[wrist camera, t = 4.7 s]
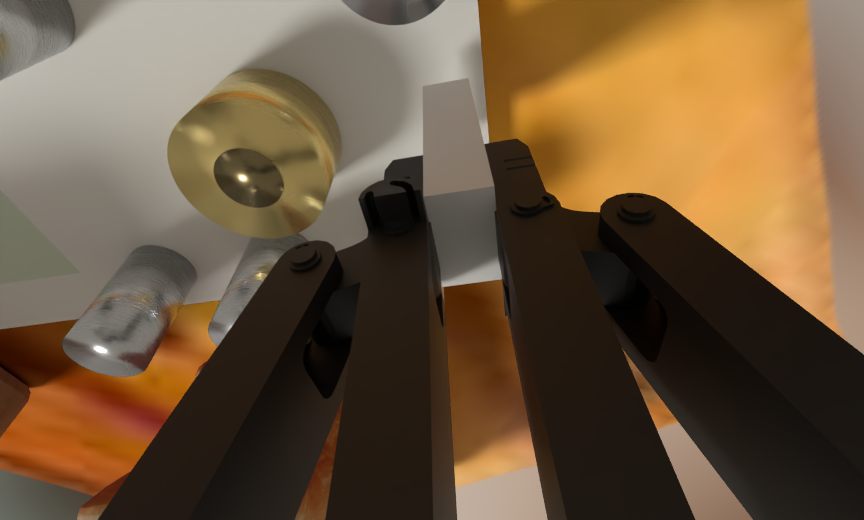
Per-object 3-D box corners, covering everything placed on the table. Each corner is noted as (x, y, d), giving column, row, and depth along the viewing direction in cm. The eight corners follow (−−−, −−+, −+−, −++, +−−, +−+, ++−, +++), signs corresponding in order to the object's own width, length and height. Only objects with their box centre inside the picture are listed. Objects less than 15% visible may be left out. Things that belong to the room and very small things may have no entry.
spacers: (-128, -33, 13) (-361, 3, 9) (444, -163, 11) (456, -188, 7) (153, 294, 22) (96, 380, 18) (486, 248, 20) (502, 332, 16)
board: (-413, -10, 14) (-462, -3, 13) (456, -218, 11) (459, -226, 10) (-1, 317, 24) (-14, 331, 23) (496, 249, 22) (498, 263, 21)
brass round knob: (175, 96, 15) (129, 135, 13) (298, 47, 14) (271, 80, 12) (257, 206, 18) (232, 253, 16) (363, 173, 17) (352, 218, 15)
